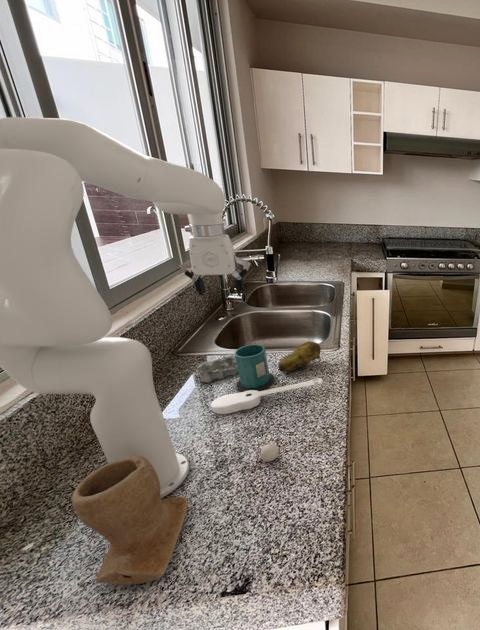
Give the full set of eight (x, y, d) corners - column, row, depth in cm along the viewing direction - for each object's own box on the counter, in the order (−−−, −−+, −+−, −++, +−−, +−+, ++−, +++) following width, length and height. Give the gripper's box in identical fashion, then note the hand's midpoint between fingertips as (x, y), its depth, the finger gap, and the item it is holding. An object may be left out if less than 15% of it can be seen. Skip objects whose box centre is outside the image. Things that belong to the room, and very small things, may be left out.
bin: (266, 386, 98) (261, 356, 94) (237, 389, 96) (231, 358, 92) (271, 372, 105) (267, 343, 101) (245, 374, 103) (239, 345, 99)
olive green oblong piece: (280, 363, 111) (276, 341, 108) (321, 358, 115) (319, 336, 112) (279, 377, 104) (275, 354, 101) (323, 370, 108) (321, 348, 105)
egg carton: (200, 385, 99) (197, 373, 98) (198, 373, 105) (195, 361, 103) (241, 374, 105) (238, 362, 103) (237, 363, 110) (234, 352, 109)
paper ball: (278, 464, 73) (275, 451, 72) (260, 466, 73) (257, 453, 71) (280, 451, 77) (278, 439, 75) (263, 453, 76) (261, 441, 75)
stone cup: (123, 513, 62) (94, 450, 56) (197, 498, 65) (177, 437, 59) (70, 608, 49) (26, 537, 43) (167, 583, 52) (138, 515, 46)
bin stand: (270, 391, 97) (270, 389, 97) (232, 394, 95) (232, 392, 95) (277, 372, 106) (276, 370, 106) (242, 375, 104) (242, 373, 104)
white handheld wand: (321, 383, 102) (321, 374, 100) (325, 393, 97) (324, 385, 96) (214, 405, 91) (211, 396, 90) (211, 418, 86) (209, 409, 85)
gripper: (164, 233, 84) (181, 299, 91) (240, 232, 87) (251, 296, 94) (177, 228, 91) (192, 290, 97) (247, 228, 94) (257, 287, 101)
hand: (221, 292), depth 96 cm, fingers open, 9 cm apart
